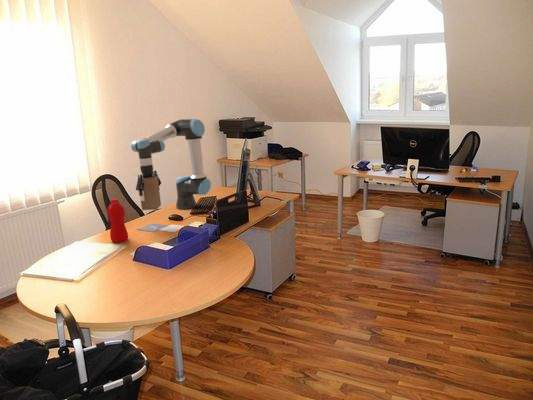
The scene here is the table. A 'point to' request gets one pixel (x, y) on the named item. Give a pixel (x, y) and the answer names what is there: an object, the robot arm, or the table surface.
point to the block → (151, 193)
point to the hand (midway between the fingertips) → (150, 198)
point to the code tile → (153, 227)
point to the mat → (172, 228)
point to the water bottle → (117, 221)
